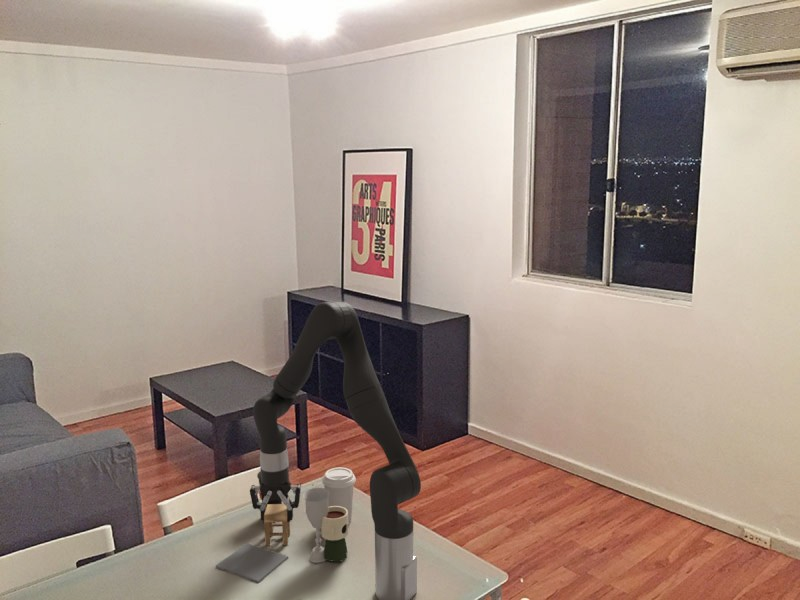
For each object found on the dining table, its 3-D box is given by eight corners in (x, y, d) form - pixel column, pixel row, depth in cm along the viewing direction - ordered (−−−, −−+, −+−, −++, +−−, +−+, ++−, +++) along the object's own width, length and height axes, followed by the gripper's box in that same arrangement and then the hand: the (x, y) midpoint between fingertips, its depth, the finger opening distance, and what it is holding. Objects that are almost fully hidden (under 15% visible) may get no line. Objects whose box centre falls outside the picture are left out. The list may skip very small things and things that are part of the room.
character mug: (346, 569, 176) (345, 523, 174) (318, 569, 177) (317, 523, 174) (351, 546, 187) (350, 502, 184) (325, 545, 187) (324, 501, 185)
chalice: (326, 566, 178) (324, 502, 174) (301, 563, 179) (299, 499, 176) (335, 550, 185) (333, 489, 181) (311, 547, 186) (309, 486, 183)
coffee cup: (318, 527, 197) (316, 478, 193) (331, 510, 205) (329, 464, 202) (349, 532, 194) (348, 483, 191) (361, 515, 203) (360, 468, 200)
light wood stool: (290, 533, 194) (289, 503, 192) (287, 545, 188) (286, 515, 186) (268, 533, 193) (267, 504, 191) (265, 545, 187) (263, 515, 186)
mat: (288, 558, 182) (288, 556, 182) (258, 582, 171) (258, 580, 171) (246, 544, 188) (246, 542, 188) (216, 567, 178) (215, 565, 178)
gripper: (302, 457, 190) (304, 513, 193) (250, 458, 189) (253, 514, 193) (299, 470, 182) (301, 527, 186) (245, 471, 182) (248, 529, 185)
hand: (277, 520), depth 189 cm, fingers closed on light wood stool, 6 cm apart
